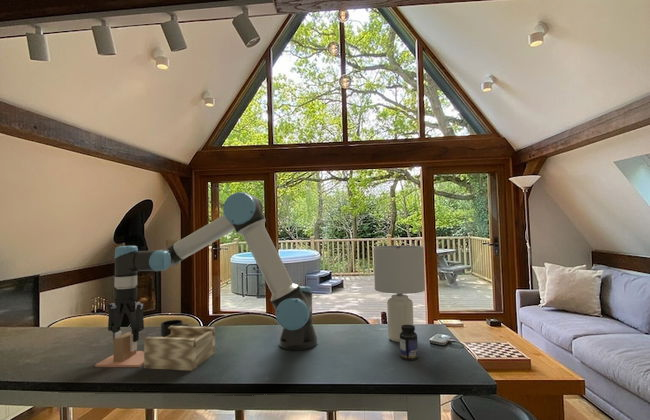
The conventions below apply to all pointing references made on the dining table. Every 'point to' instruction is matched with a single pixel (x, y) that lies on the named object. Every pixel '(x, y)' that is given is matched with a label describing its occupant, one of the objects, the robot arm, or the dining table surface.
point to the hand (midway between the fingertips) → (125, 349)
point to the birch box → (180, 348)
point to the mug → (166, 324)
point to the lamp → (399, 282)
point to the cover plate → (126, 363)
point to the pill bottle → (408, 343)
